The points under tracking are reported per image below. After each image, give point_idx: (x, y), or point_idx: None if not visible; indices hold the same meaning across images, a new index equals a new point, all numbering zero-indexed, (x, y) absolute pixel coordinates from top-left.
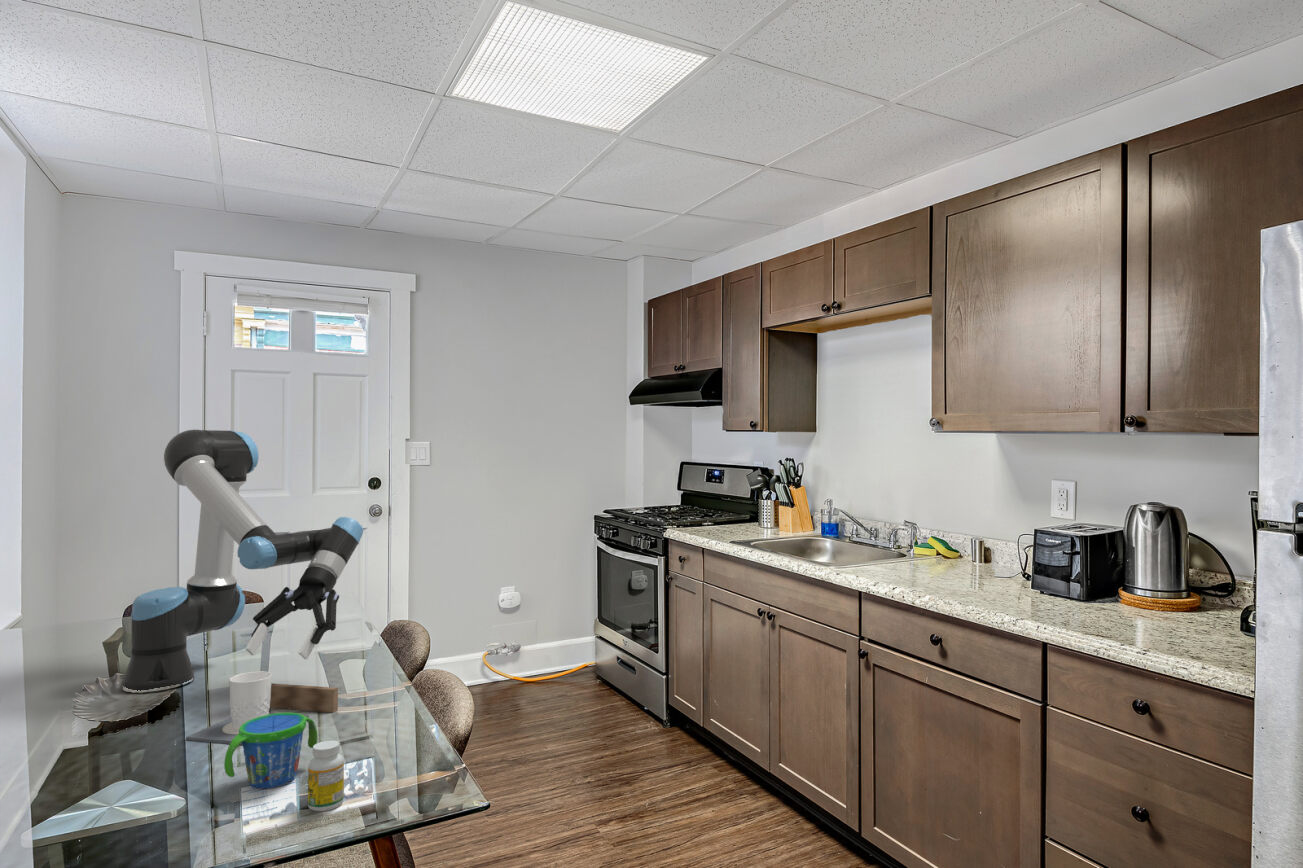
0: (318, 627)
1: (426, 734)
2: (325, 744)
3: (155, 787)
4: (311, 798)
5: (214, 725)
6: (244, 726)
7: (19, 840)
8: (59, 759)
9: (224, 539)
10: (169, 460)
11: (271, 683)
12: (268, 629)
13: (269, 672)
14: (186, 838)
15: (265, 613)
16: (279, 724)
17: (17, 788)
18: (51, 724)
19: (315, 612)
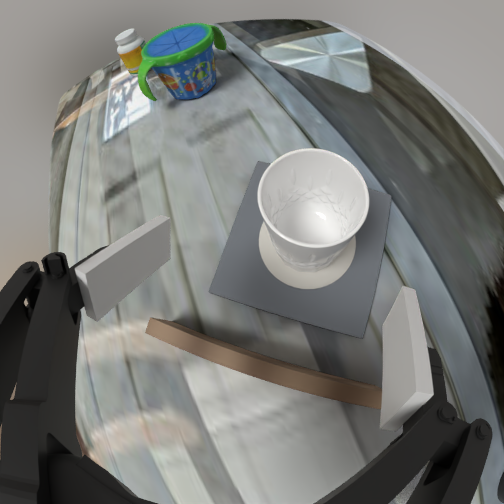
0: (70, 276)
1: (53, 206)
2: (125, 34)
3: (315, 75)
4: None
5: (379, 248)
6: (207, 30)
7: (352, 32)
8: (485, 159)
9: None
10: None
11: (334, 398)
12: (384, 421)
13: (276, 230)
14: (230, 30)
15: (445, 475)
16: (171, 47)
17: (450, 98)
18: None
19: (42, 345)
